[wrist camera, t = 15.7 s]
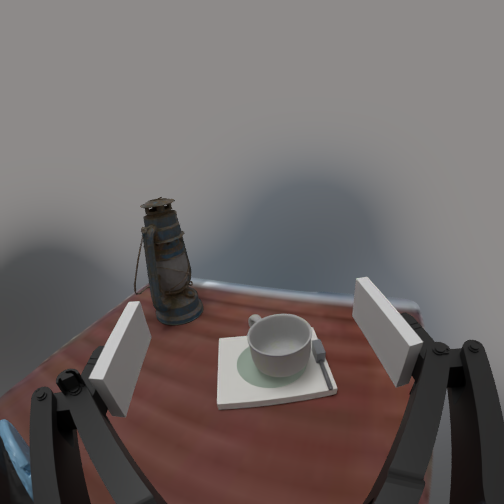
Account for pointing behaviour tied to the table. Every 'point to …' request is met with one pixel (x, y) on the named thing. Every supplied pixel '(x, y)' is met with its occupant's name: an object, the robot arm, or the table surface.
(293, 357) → the teacup
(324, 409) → the table surface
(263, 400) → the record player
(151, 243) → the lantern
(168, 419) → the table surface
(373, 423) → the table surface
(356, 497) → the table surface
